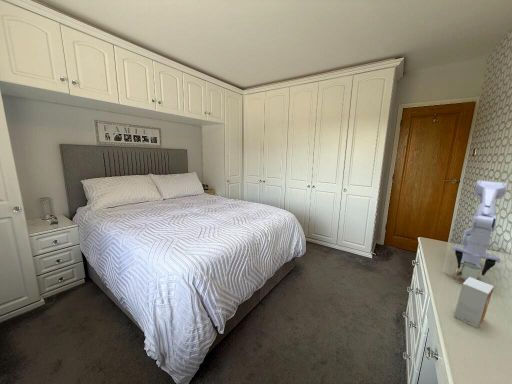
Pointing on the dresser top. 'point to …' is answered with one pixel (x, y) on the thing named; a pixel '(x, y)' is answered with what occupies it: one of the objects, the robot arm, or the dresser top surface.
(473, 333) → the dresser top surface
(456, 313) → the small box
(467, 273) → the finger block
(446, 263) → the dresser top surface
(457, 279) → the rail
